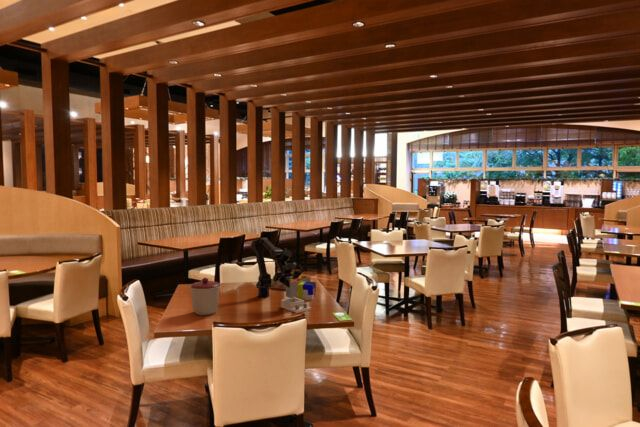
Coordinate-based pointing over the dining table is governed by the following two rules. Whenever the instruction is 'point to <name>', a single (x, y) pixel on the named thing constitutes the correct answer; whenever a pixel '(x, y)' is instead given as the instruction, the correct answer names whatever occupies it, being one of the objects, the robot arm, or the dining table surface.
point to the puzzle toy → (306, 290)
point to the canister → (205, 296)
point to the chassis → (294, 305)
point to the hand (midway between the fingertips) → (292, 286)
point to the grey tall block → (291, 288)
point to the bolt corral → (281, 286)
